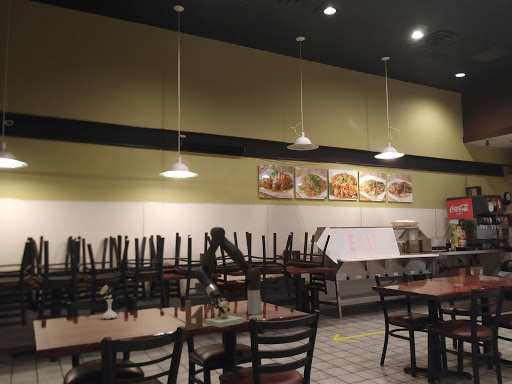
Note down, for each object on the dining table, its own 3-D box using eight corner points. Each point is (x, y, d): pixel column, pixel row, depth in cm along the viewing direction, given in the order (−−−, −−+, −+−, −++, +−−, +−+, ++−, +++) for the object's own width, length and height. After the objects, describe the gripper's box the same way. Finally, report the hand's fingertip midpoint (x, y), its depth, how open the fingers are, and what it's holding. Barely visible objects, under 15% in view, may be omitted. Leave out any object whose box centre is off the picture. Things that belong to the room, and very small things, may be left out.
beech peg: (225, 320, 285) (224, 301, 286) (229, 321, 281) (229, 301, 283) (219, 321, 282) (218, 302, 283) (223, 322, 278) (223, 302, 279)
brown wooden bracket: (203, 329, 266) (202, 299, 268) (186, 331, 262) (185, 301, 264) (201, 327, 270) (200, 299, 271) (184, 329, 265) (184, 300, 267)
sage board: (229, 319, 294) (229, 315, 294) (244, 322, 282) (243, 317, 282) (205, 324, 281) (205, 319, 281) (219, 327, 269) (219, 322, 269)
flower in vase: (111, 316, 321) (111, 283, 323) (120, 318, 314) (120, 283, 317) (96, 319, 310) (96, 285, 312) (105, 321, 304) (105, 285, 306)
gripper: (208, 289, 283) (221, 309, 274) (223, 287, 294) (236, 306, 285) (203, 297, 286) (216, 317, 277) (218, 294, 297) (231, 313, 288)
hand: (226, 311), depth 281 cm, fingers closed on beech peg, 5 cm apart
